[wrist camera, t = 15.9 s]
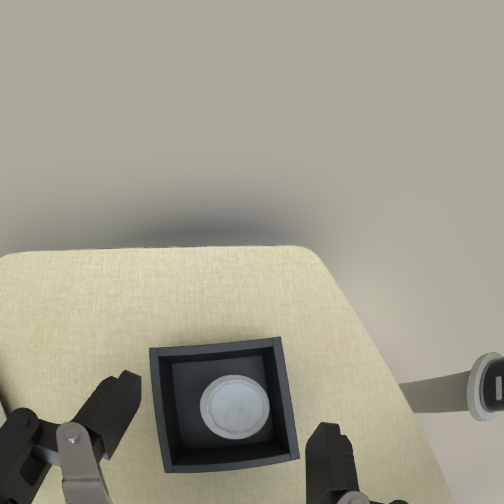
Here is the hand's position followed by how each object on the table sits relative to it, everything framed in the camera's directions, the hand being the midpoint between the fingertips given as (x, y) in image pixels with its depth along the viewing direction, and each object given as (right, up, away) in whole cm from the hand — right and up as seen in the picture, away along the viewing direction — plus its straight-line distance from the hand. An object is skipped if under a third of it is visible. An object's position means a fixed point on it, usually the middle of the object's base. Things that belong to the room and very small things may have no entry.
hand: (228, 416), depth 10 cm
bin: (-2, -10, +17) cm, 19 cm away
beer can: (-2, -9, +16) cm, 19 cm away
